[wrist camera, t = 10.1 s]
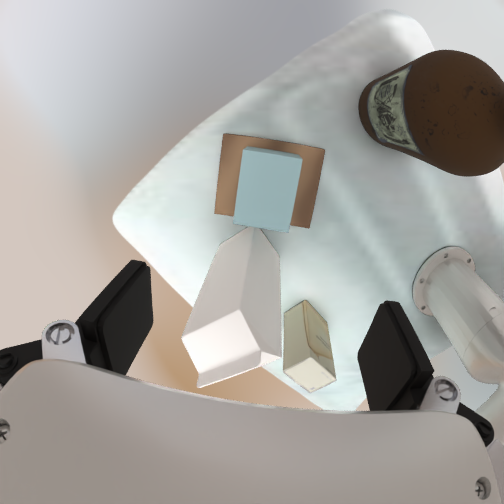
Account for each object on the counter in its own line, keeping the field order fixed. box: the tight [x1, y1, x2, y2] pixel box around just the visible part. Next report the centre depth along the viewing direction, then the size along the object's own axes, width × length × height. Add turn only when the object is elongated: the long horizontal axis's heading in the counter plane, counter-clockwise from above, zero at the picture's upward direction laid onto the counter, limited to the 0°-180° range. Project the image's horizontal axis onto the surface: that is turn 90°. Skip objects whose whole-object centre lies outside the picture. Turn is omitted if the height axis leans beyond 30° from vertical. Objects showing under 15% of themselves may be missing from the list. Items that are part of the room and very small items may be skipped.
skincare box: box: [283, 300, 336, 393], centre depth 38 cm, size 6×4×12 cm
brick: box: [233, 146, 303, 233], centre depth 31 cm, size 6×8×5 cm
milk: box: [181, 226, 282, 388], centre depth 29 cm, size 6×6×22 cm
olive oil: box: [359, 50, 504, 176], centre depth 18 cm, size 11×11×25 cm
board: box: [214, 134, 325, 228], centre depth 34 cm, size 12×10×2 cm
